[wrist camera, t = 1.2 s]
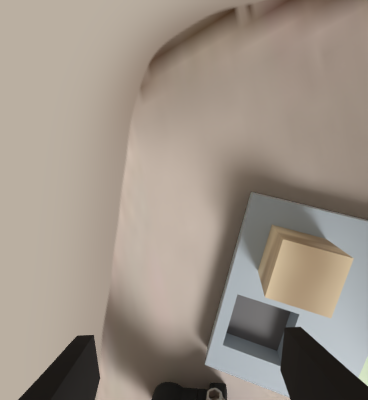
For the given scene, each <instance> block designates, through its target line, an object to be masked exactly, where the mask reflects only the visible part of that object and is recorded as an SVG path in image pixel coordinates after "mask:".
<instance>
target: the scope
mask: <svg viewBox="0 0 368 400" xmlns="http://www.w3.org/2000/svg"><path fill="white" fill-rule="evenodd" d="M152 400H227V389H226V385H225V384H221V383H210V388H209V390H205V389H194V388H183V387H181V386H180V385H178V384H176V383H172V382H164V383H161V384H160V385H158V386H157V387H156V389H155V391H154V394H153V397H152Z"/></svg>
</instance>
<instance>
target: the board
mask: <svg viewBox="0 0 368 400" xmlns="http://www.w3.org/2000/svg"><path fill="white" fill-rule="evenodd" d="M272 225H275V226H279V227H283V228H287V229H291V230H294V231H298V232H302V233H306V234H310V235H313V236H317V237H321V238H325V239H327V240H328V241H330V242H331V243H333V244H334V245H335V246H337V247H338V248H340V249H341V250H343V251H344V252H345V253H347V254H348V255H350V256H351V257H353V258H354V259H353V262H352V265H351V267H350V270H349V273H348V275H347V278H346V281H345V283H344V286H343V289H342V291H341V294H340V297H339V299H338V302H337V304H336V307H335V310H334V312H333V315H332V318H328V317H325V316H322V315H319V314H315V313H312V312H309V311H306V310H303V309H300V308H297V307H293V306H290V305H287V304H284V303H281V302H278V301H275V300H272V299H268V298H265V296H264V292H263V289H262V285H261V281H260V277H259V273H258V269H259V265H260V262H261V259H262V255H263V252H264V249H265V246H266V242H267V239H268V236H269V232H270V229H271V226H272ZM285 327H301V328H303V329H304V330H305V331H306V332H307V333H308V334H309V335H310V336H312V337H313V338H314V339H315V340H316V341H317V342H318V343H319V344H320V345H322V346H323V347H324V348H325V349H326V350H327V351H328V352H329V353H330V354H332V355H333V356H334V357H335V358H336V359H337V360H338V361H339V362H341V363H342V364H343V365H344V366H345V367H346V368H347V369H349V370H350V371H351V372H352V373H353V374H354V375H355V376H357V377H358V378H359V379H360V380H361V381H362V382H364V383H365V384H366V385H367V386H368V220H366V219H362V218H358V217H354V216H350V215H346V214H341V213H337V212H333V211H329V210H325V209H321V208H317V207H313V206H308V205H304V204H300V203H296V202H292V201H288V200H284V199H280V198H275V197H271V196H267V195H263V194H259V193H255V192H251V194H250V197H249V201H248V204H247V208H246V211H245V215H244V219H243V222H242V226H241V229H240V233H239V236H238V240H237V244H236V247H235V251H234V254H233V258H232V261H231V265H230V269H229V272H228V276H227V279H226V283H225V286H224V290H223V294H222V297H221V301H220V304H219V308H218V311H217V315H216V319H215V322H214V326H213V329H212V333H211V336H210V340H209V344H208V347H207V353H206V361H205V365H207V366H209V367H212V368H214V369H217V370H220V371H222V372H225V373H227V374H230V375H232V376H235V377H238V378H240V379H243V380H245V381H248V382H251V383H253V384H256V385H258V386H261V387H263V388H266V389H269V390H271V391H274V392H276V393H279V394H282V395H284V396H287V397H289V398H290V396H289V394H288V391H287V388H286V385H285V382H284V379H283V377H282V374H281V371H280V367H281V358H282V348H283V339H284V329H285Z"/></svg>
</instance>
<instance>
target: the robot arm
mask: <svg viewBox="0 0 368 400" xmlns="http://www.w3.org/2000/svg"><path fill="white" fill-rule="evenodd" d="M280 371H281V374H282V377H283V379H284V382H285V385H286V388H287V391H288V394H289V396H290V399H291V400H368V386H367V385H366V384H365V383H364V382H362V381H361V380H360V379H359V378H358V377H357V376H355V375H354V374H353V373H352V372H351V371H350V370H349V369H347V368H346V367H345V366H344V365H343V364H342V363H341V362H339V361H338V360H337V359H336V358H335V357H334V356H333V355H332V354H330V353H329V352H328V351H327V350H326V349H325V348H324V347H323V346H322V345H320V344H319V343H318V342H317V341H316V340H315V339H314V338H313V337H312V336H310V335H309V334H308V333H307V332H306V331H305V330H304V329H303V328H301V327H285V329H284V339H283V348H282V358H281V367H280ZM99 380H100V374H99V368H98V361H97V354H96V347H95V341H94V335H84V336H77V337H76V338H75V339H74V340H73V341H72V342H71V343H70V344H69V345H68V346H67V347H66V348H65V350H64V351H63V352H62V353H61V354H60V355H59V356H58V357H57V358H56V360H55V361H54V362H53V363H52V364H51V365H50V366H49V367H48V368H47V370H46V371H45V372H44V373H43V374H42V375H41V376H40V377H39V379H37V381H35V382H34V383H33V385H32V386H31V387H30V388H29V389H28V390H27V391H26V392H25V393H24V394H23V395H22V396H21V397H20V398H19V400H95V396H96V392H97V388H98V384H99Z"/></svg>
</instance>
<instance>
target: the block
mask: <svg viewBox="0 0 368 400" xmlns="http://www.w3.org/2000/svg"><path fill="white" fill-rule="evenodd" d="M353 259H354V258H353V257H351V256H350V255H348V254H347V253H345V252H344V251H343V250H341V249H340V248H338V247H337V246H335V245H334V244H333V243H331V242H330V241H328V240H327V239H325V238H321V237H317V236H313V235H310V234H306V233H302V232H298V231H294V230H291V229H287V228H283V227H279V226H275V225H272V226H271V229H270V232H269V236H268V239H267V242H266V246H265V249H264V252H263V255H262V259H261V262H260V265H259V269H258V273H259V277H260V281H261V285H262V289H263V292H264V296H265V298H268V299H272V300H275V301H278V302H281V303H284V304H287V305H290V306H293V307H297V308H300V309H303V310H306V311H309V312H312V313H315V314H319V315H322V316H325V317H328V318H332V315H333V312H334V310H335V307H336V304H337V302H338V299H339V297H340V294H341V291H342V289H343V286H344V283H345V281H346V278H347V275H348V273H349V270H350V267H351V265H352V262H353Z"/></svg>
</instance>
